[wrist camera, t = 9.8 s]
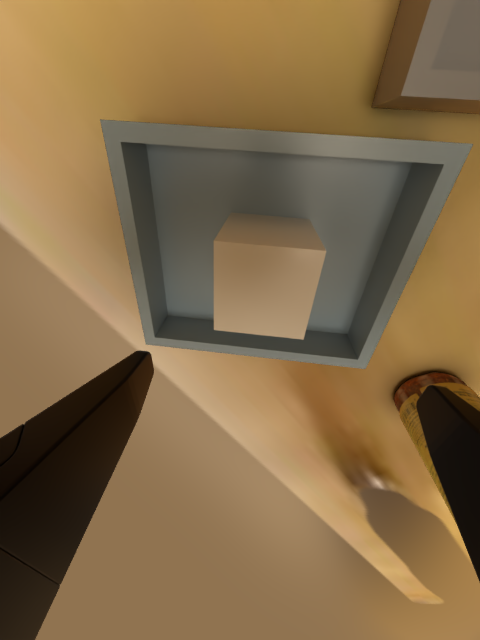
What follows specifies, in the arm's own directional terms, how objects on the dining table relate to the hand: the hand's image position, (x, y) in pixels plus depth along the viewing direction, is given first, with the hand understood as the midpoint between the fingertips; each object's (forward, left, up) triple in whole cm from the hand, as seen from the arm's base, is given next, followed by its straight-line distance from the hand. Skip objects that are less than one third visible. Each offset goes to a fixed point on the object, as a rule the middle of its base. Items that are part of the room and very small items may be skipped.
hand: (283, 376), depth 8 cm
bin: (+1, 0, -12) cm, 12 cm away
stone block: (+1, 0, -11) cm, 11 cm away
